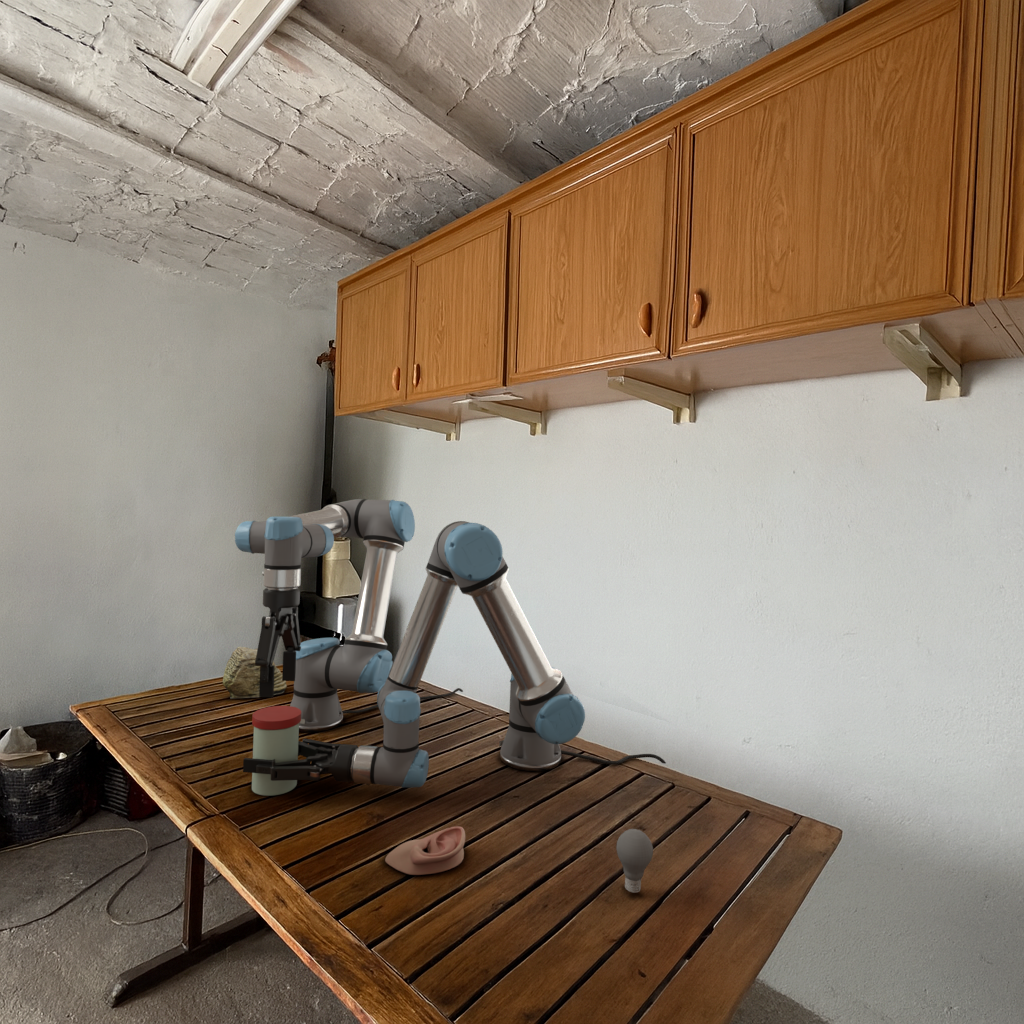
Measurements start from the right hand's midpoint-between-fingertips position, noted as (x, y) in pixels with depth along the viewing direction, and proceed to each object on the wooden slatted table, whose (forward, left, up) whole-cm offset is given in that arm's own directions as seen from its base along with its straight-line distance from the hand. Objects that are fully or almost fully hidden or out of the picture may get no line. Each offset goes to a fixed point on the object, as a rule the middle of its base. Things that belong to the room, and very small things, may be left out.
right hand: (255, 755), depth 138 cm
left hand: (-4, +2, +15) cm, 16 cm away
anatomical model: (-30, +38, -6) cm, 49 cm away
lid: (-4, +2, +9) cm, 10 cm away
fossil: (+3, -65, -6) cm, 65 cm away
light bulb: (-61, +57, -6) cm, 83 cm away
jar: (-4, +2, -6) cm, 8 cm away
